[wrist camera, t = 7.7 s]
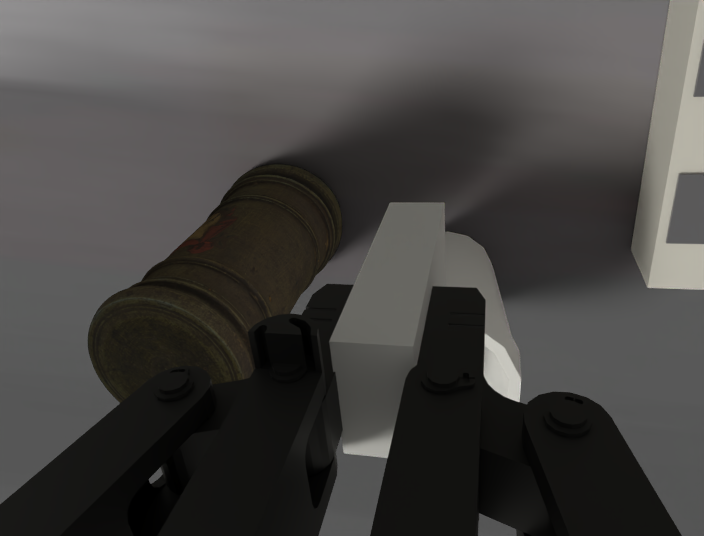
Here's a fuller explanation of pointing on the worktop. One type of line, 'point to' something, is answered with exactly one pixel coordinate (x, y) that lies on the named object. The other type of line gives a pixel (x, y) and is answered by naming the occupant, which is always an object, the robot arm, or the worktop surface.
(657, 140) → the switch panel
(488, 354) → the foam cup
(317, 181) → the container
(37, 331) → the worktop surface
